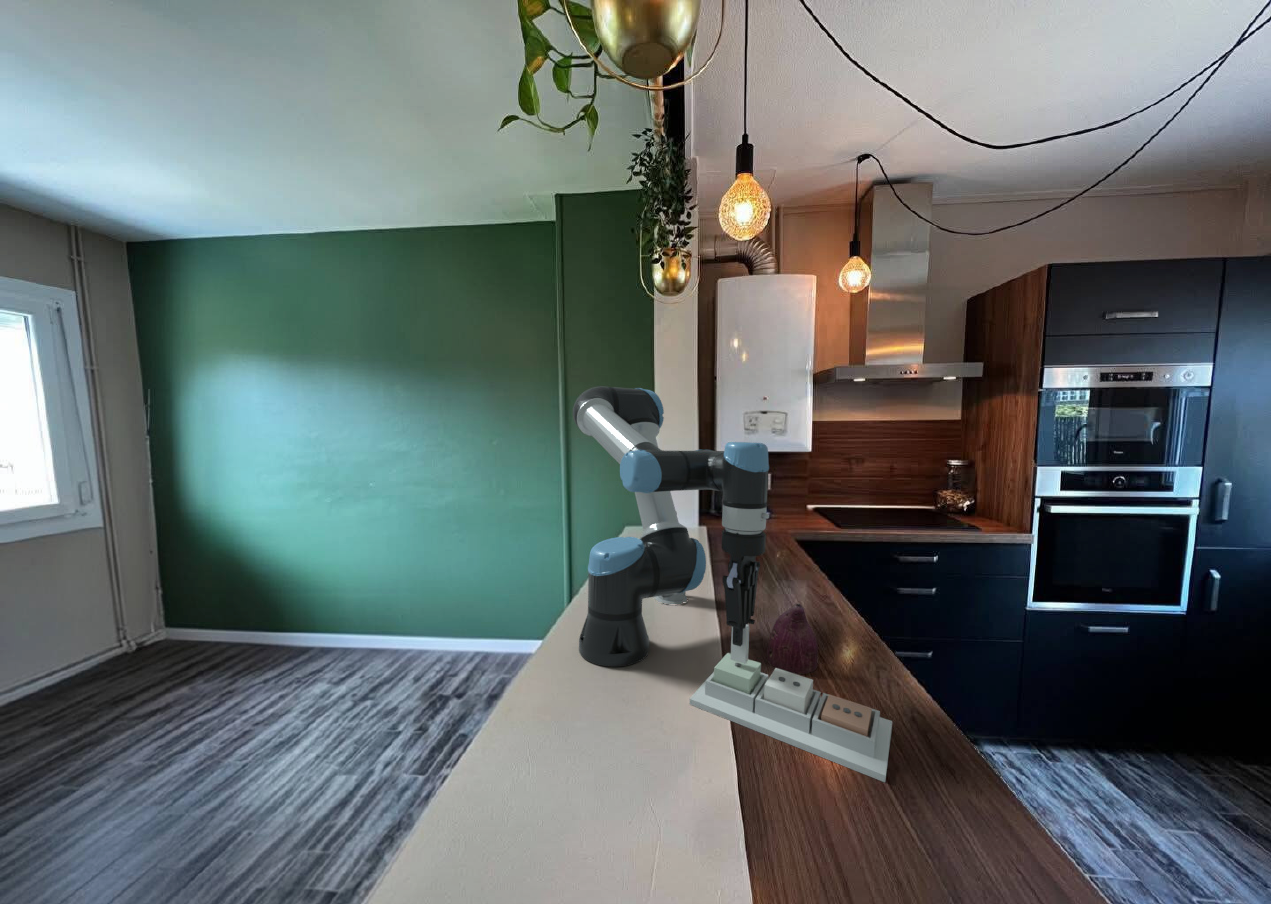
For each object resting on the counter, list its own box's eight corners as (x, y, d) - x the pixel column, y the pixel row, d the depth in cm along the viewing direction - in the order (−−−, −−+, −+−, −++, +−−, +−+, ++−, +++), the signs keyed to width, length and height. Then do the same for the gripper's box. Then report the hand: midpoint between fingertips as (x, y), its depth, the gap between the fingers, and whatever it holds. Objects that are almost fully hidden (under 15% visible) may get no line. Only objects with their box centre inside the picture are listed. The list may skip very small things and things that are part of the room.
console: (689, 704, 78) (690, 684, 78) (720, 668, 90) (721, 651, 90) (885, 782, 62) (886, 758, 62) (891, 727, 74) (893, 706, 73)
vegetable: (818, 690, 89) (837, 629, 84) (765, 677, 91) (780, 616, 86) (811, 653, 99) (828, 596, 94) (763, 641, 101) (777, 585, 96)
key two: (763, 702, 75) (764, 683, 75) (774, 684, 80) (775, 666, 80) (803, 716, 71) (804, 697, 71) (812, 696, 77) (813, 678, 77)
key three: (820, 732, 70) (821, 713, 70) (828, 711, 75) (829, 693, 75) (866, 749, 67) (867, 729, 66) (870, 726, 72) (871, 707, 72)
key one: (713, 683, 80) (714, 666, 80) (727, 668, 85) (727, 651, 85) (748, 696, 76) (749, 678, 76) (760, 679, 82) (761, 662, 81)
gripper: (752, 540, 71) (747, 683, 73) (775, 526, 82) (770, 651, 84) (708, 533, 76) (704, 669, 77) (736, 521, 86) (732, 640, 88)
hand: (739, 660), depth 80 cm, fingers closed
